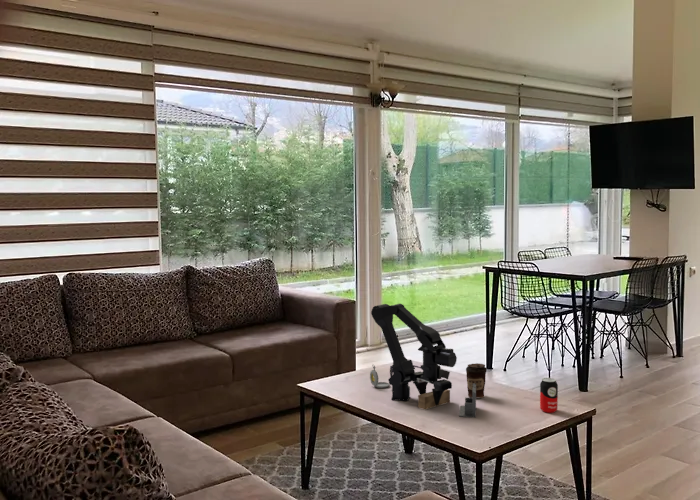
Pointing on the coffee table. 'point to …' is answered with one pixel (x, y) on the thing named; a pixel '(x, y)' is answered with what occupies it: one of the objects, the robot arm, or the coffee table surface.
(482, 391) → the coffee cup
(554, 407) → the beverage can
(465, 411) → the bracket
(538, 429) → the coffee table surface
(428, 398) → the rail
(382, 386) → the pocket watch
